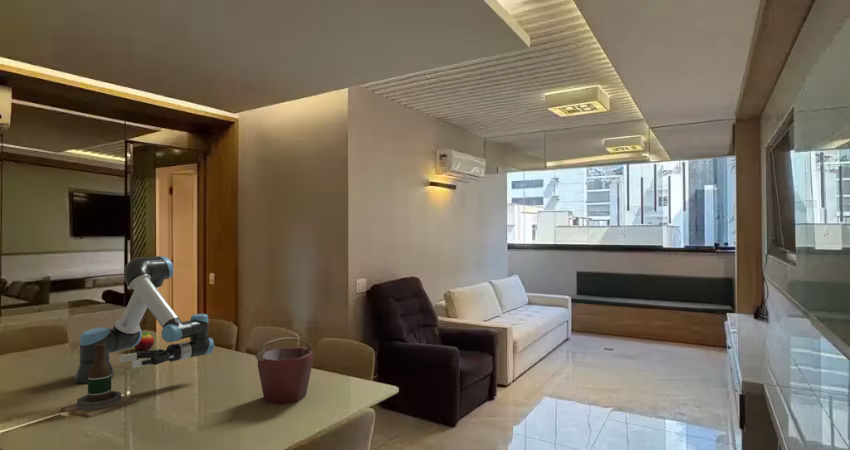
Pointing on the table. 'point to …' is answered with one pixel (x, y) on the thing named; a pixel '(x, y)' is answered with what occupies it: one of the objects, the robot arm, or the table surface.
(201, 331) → the robot arm
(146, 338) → the fruit
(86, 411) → the collar stand
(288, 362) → the bucket
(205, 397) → the table surface
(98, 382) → the beer bottle
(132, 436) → the table surface
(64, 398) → the table surface
